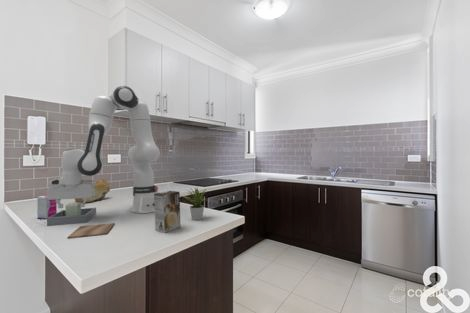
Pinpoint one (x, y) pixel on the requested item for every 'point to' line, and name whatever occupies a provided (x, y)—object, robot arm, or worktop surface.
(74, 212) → the sage block
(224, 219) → the worktop surface
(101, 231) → the walnut pad
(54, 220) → the frame
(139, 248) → the worktop surface
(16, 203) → the worktop surface
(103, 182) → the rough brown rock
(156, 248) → the worktop surface
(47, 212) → the supplement box
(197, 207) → the house plant
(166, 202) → the coffee box
